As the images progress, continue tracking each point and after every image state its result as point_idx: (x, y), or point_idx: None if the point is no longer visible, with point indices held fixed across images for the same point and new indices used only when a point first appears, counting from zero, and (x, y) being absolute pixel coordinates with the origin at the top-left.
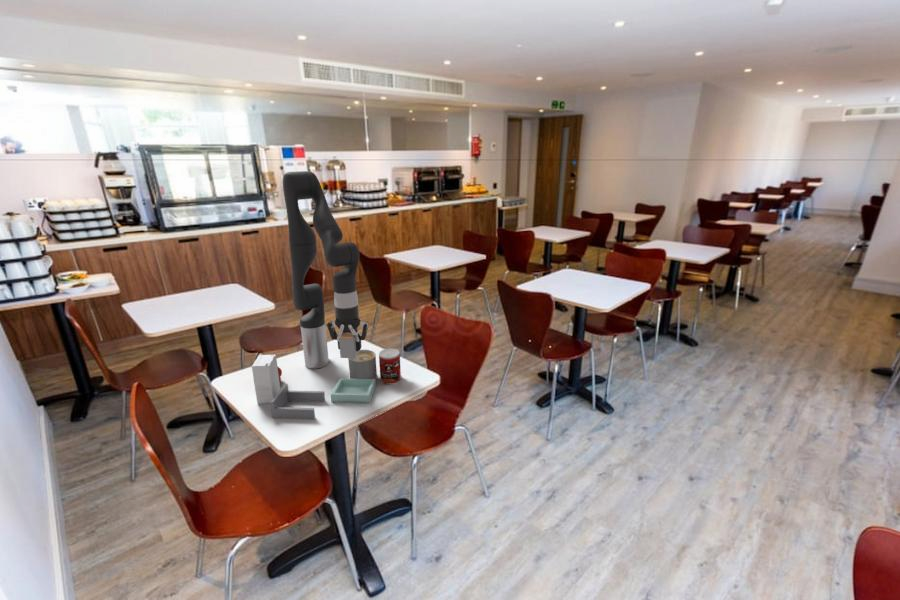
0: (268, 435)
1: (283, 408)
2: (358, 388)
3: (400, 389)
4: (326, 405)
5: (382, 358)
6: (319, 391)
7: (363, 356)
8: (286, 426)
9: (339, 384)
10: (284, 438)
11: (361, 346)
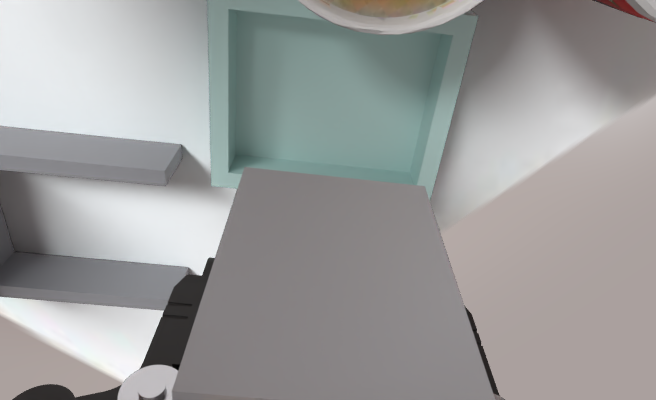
0: (61, 344)
1: (30, 296)
2: (352, 50)
3: (618, 56)
4: (205, 188)
5: (630, 5)
6: (136, 170)
7: None
8: (97, 308)
9: (228, 72)
10: (129, 359)
11: (472, 317)
